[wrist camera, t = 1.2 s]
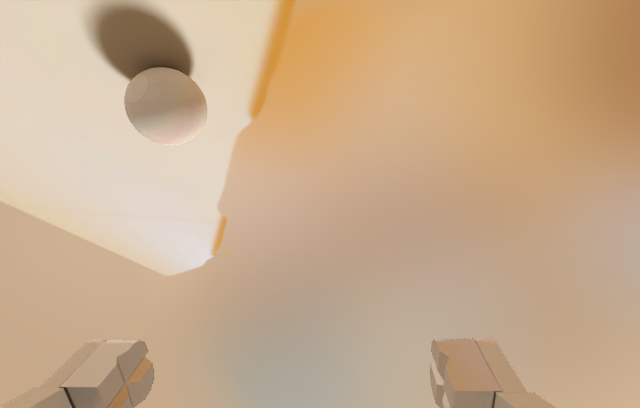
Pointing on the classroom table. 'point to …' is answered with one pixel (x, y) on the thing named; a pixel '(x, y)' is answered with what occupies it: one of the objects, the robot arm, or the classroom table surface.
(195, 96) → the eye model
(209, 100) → the classroom table surface
